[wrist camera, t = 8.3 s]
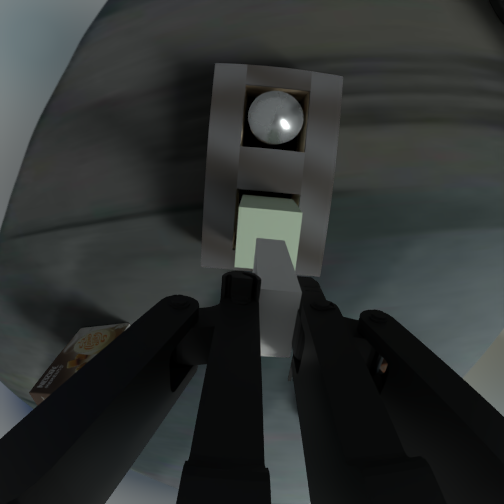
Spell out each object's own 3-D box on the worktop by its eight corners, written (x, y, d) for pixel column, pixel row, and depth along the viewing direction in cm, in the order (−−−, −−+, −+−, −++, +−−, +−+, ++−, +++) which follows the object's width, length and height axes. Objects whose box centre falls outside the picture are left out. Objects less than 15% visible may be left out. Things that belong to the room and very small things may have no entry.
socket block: (222, 78, 33) (215, 62, 26) (327, 89, 33) (343, 76, 26) (210, 246, 39) (200, 266, 32) (309, 254, 39) (319, 276, 32)
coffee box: (96, 361, 45) (52, 430, 30) (80, 326, 43) (26, 391, 28) (145, 357, 44) (109, 435, 29) (130, 320, 42) (82, 394, 27)
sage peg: (242, 194, 31) (238, 206, 24) (292, 199, 31) (302, 212, 24) (239, 242, 32) (234, 267, 26) (287, 246, 32) (295, 272, 26)
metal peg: (251, 100, 33) (250, 88, 27) (296, 104, 33) (305, 94, 27) (247, 143, 35) (245, 141, 28) (292, 147, 35) (301, 146, 28)
